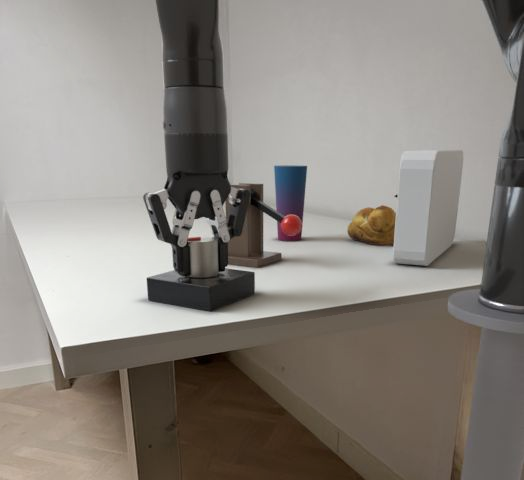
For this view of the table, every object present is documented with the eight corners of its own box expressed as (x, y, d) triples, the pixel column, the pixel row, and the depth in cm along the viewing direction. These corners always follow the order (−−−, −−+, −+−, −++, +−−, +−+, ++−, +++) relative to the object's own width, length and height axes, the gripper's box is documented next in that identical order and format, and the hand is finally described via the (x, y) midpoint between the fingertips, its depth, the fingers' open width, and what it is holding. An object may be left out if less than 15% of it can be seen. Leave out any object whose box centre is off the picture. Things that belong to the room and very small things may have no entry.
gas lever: (300, 238, 91) (308, 219, 90) (290, 241, 89) (298, 222, 87) (240, 199, 95) (247, 181, 93) (229, 201, 92) (235, 182, 91)
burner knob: (209, 269, 74) (208, 233, 73) (224, 275, 71) (223, 237, 69) (179, 273, 72) (177, 236, 71) (193, 279, 69) (191, 240, 67)
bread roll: (336, 240, 118) (338, 201, 115) (370, 236, 123) (372, 198, 120) (380, 248, 108) (383, 206, 105) (414, 244, 113) (418, 203, 110)
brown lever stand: (281, 259, 97) (282, 183, 93) (257, 267, 91) (257, 186, 86) (234, 254, 102) (233, 182, 98) (208, 261, 96) (205, 184, 91)
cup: (292, 242, 114) (293, 166, 109) (267, 239, 118) (267, 165, 113) (311, 238, 119) (313, 165, 114) (286, 235, 123) (287, 165, 118)
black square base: (255, 293, 74) (254, 270, 73) (210, 311, 66) (209, 285, 65) (196, 285, 79) (195, 263, 78) (147, 300, 71) (146, 276, 70)
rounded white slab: (416, 241, 116) (424, 150, 110) (454, 243, 113) (464, 150, 107) (377, 264, 93) (385, 150, 86) (424, 269, 89) (436, 150, 83)
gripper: (150, 129, 59) (160, 286, 65) (263, 131, 66) (263, 271, 72) (127, 131, 65) (138, 274, 71) (233, 132, 72) (235, 262, 78)
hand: (201, 272), depth 72 cm, fingers closed on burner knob, 4 cm apart
